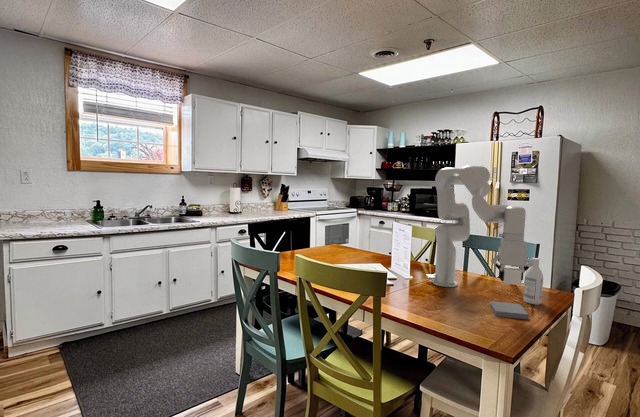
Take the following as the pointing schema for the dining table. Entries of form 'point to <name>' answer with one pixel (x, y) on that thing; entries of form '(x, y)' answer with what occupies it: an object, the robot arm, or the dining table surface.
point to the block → (512, 275)
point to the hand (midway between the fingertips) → (510, 280)
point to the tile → (508, 310)
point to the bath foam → (533, 283)
